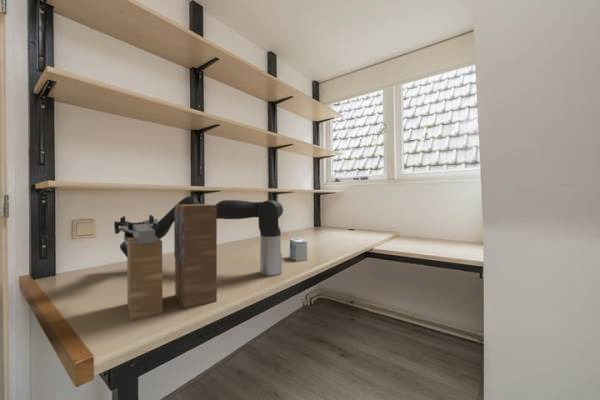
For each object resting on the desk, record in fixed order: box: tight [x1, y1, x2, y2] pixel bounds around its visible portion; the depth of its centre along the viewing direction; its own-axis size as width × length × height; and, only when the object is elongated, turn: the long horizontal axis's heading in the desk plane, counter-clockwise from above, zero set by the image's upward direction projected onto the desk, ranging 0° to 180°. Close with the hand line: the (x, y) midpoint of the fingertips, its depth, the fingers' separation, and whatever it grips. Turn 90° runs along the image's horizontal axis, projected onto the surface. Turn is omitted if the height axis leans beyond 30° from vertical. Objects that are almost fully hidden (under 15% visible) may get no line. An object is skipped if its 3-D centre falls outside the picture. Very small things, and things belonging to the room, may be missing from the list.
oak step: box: [126, 236, 163, 321], centre depth 80 cm, size 14×8×22 cm, turn 37°
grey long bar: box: [133, 224, 155, 244], centre depth 83 cm, size 22×4×4 cm, turn 37°
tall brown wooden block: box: [173, 203, 218, 310], centre depth 88 cm, size 14×11×32 cm
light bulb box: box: [289, 237, 308, 261], centre depth 146 cm, size 11×7×11 cm, turn 24°
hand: (137, 217), depth 96 cm, fingers open, 8 cm apart
